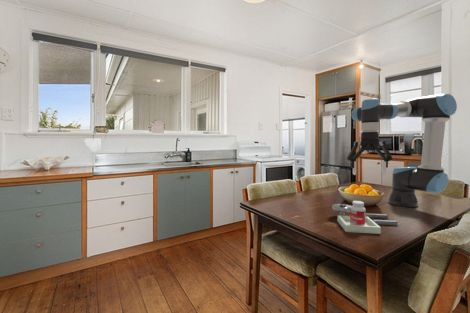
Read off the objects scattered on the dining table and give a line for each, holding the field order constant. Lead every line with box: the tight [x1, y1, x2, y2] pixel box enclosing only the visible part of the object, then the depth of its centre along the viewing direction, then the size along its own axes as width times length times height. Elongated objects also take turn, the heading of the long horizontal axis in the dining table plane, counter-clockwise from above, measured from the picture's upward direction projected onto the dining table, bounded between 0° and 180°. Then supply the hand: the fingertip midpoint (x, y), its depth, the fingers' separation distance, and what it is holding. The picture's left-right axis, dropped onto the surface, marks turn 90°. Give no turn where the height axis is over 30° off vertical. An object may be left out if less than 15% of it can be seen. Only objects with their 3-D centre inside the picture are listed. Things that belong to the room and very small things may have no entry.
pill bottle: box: [349, 200, 367, 226], centre depth 109 cm, size 6×6×11 cm
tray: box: [336, 214, 382, 235], centre depth 109 cm, size 14×14×3 cm
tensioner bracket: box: [365, 212, 399, 227], centre depth 117 cm, size 10×11×2 cm
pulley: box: [331, 203, 352, 216], centre depth 122 cm, size 10×10×6 cm
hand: (368, 174), depth 117 cm, fingers open, 13 cm apart
